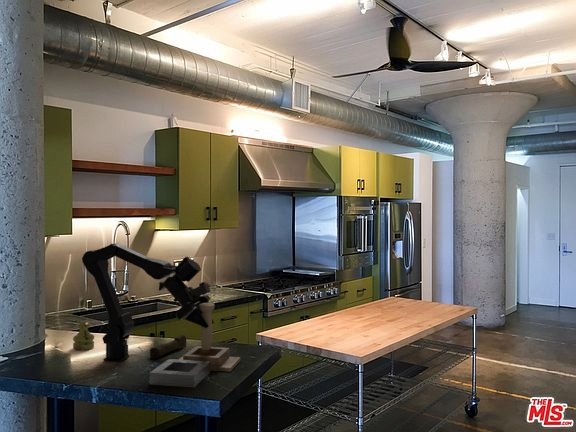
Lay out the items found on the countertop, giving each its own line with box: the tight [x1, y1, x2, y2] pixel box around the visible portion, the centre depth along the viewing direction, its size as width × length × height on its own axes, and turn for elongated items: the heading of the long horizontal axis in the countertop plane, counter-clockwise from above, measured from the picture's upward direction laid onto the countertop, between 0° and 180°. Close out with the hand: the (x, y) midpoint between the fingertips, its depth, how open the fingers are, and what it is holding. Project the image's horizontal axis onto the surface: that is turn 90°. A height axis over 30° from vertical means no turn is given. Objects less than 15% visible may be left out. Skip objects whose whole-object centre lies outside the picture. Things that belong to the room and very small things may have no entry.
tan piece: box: [177, 345, 242, 372], centre depth 167 cm, size 20×12×4 cm, turn 80°
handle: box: [199, 302, 215, 350], centre depth 167 cm, size 5×6×15 cm
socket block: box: [149, 358, 211, 389], centre depth 153 cm, size 14×14×4 cm
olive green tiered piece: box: [72, 321, 95, 352], centre depth 187 cm, size 7×7×10 cm
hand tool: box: [149, 334, 187, 360], centre depth 182 cm, size 19×4×5 cm, turn 153°
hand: (210, 325), depth 167 cm, fingers closed on handle, 5 cm apart
